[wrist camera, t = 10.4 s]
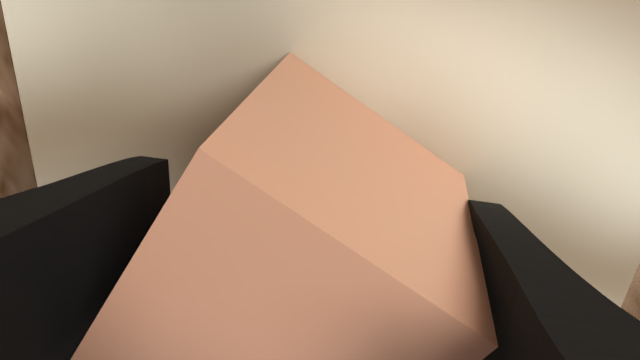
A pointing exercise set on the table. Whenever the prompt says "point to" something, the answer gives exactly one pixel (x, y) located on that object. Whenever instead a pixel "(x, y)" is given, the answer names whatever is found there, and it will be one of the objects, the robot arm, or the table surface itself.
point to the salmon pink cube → (304, 244)
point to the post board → (364, 94)
